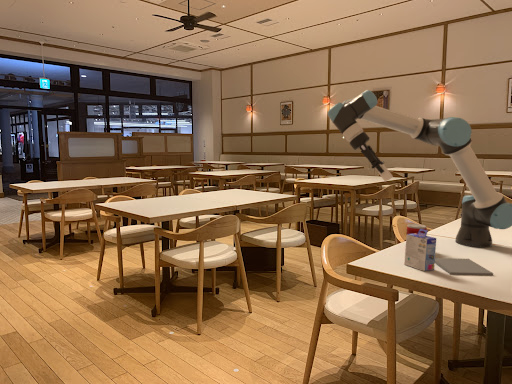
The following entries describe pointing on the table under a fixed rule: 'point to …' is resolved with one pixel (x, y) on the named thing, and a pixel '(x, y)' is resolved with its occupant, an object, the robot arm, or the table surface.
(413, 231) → the canned food
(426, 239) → the ink cartridge box
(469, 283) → the table surface
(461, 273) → the rubber mat
